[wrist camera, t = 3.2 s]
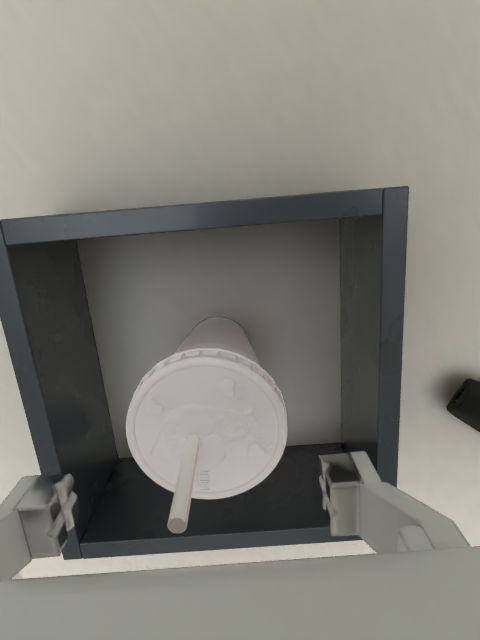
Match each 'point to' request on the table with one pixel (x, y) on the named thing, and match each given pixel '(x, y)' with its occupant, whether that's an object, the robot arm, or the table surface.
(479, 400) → the electric trimmer
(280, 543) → the basin
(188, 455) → the smoothie
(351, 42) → the table surface
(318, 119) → the table surface
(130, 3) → the table surface
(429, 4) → the table surface
